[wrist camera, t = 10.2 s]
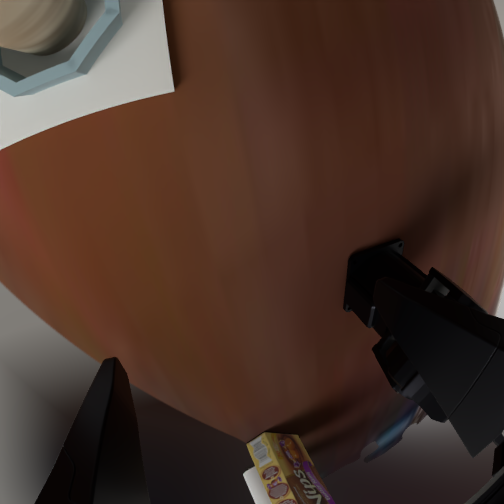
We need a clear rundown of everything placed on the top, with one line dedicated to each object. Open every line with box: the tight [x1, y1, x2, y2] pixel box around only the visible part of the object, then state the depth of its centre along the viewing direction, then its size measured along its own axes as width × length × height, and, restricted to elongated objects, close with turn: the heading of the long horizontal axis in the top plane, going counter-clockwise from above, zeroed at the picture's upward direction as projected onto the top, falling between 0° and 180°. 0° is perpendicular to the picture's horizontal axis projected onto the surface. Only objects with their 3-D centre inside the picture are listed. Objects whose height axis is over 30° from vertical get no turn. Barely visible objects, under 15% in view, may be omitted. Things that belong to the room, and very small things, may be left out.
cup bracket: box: [0, 0, 174, 150], centre depth 9 cm, size 12×12×4 cm
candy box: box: [246, 432, 335, 504], centre depth 35 cm, size 9×4×15 cm, turn 43°
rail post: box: [0, 0, 87, 56], centre depth 7 cm, size 4×4×8 cm
